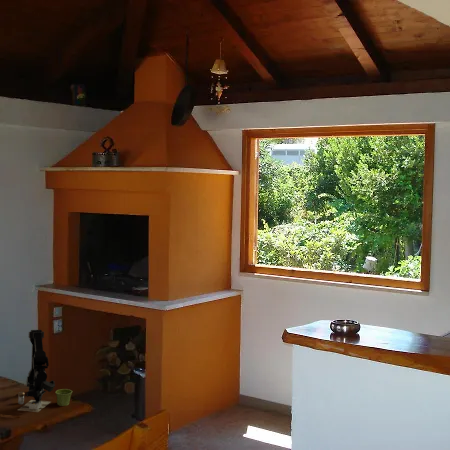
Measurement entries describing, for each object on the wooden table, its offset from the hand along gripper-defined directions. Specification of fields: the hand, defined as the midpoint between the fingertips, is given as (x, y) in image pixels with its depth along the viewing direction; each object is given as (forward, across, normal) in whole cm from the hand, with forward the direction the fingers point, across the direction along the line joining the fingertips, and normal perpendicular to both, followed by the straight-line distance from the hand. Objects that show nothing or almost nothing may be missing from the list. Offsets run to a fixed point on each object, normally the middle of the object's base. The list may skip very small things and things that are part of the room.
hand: (38, 404), depth 346 cm
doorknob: (+2, +2, +11) cm, 12 cm away
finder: (+1, -4, 0) cm, 4 cm away
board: (+2, 0, +2) cm, 3 cm away
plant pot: (+3, +7, -12) cm, 14 cm away
